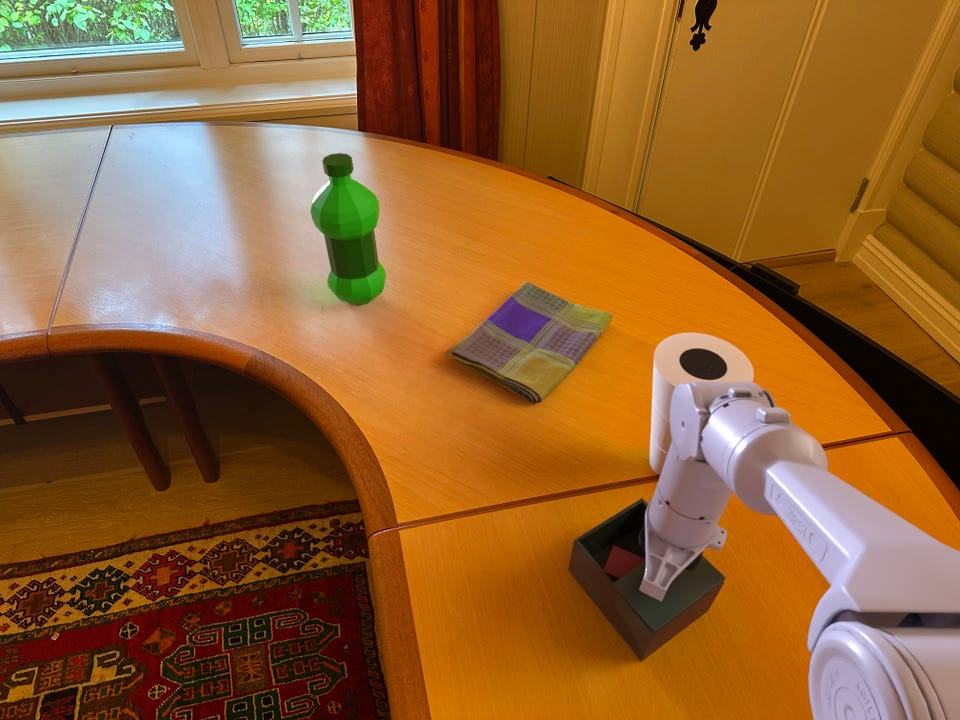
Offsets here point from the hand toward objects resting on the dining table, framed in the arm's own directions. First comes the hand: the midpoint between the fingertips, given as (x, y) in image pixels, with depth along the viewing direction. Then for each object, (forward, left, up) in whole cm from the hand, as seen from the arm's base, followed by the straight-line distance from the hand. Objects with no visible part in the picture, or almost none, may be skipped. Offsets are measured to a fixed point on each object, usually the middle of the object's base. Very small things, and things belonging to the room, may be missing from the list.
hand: (659, 569), depth 61 cm
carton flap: (-1, 0, 0) cm, 1 cm away
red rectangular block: (+1, 0, -6) cm, 7 cm away
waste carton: (+2, 0, -7) cm, 7 cm away
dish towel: (+41, -14, -7) cm, 44 cm away
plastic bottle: (+67, +4, -7) cm, 68 cm away
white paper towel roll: (+12, -15, -7) cm, 21 cm away
